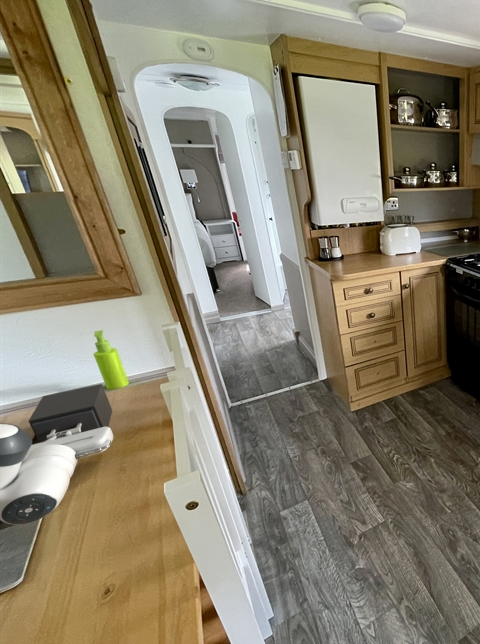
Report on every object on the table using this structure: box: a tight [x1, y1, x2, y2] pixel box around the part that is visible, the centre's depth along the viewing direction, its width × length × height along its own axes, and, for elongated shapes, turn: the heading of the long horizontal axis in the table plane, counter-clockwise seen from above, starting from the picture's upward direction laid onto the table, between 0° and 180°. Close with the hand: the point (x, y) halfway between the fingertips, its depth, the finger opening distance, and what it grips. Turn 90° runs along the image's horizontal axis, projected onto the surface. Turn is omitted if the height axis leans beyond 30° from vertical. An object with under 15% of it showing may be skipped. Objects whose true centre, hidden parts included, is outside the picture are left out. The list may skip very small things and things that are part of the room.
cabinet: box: [28, 383, 113, 443], centre depth 107 cm, size 15×13×10 cm
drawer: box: [31, 409, 100, 443], centre depth 104 cm, size 18×11×8 cm, turn 36°
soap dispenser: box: [93, 329, 130, 391], centre depth 129 cm, size 6×7×20 cm
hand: (63, 434), depth 97 cm, fingers closed, pressing on drawer
